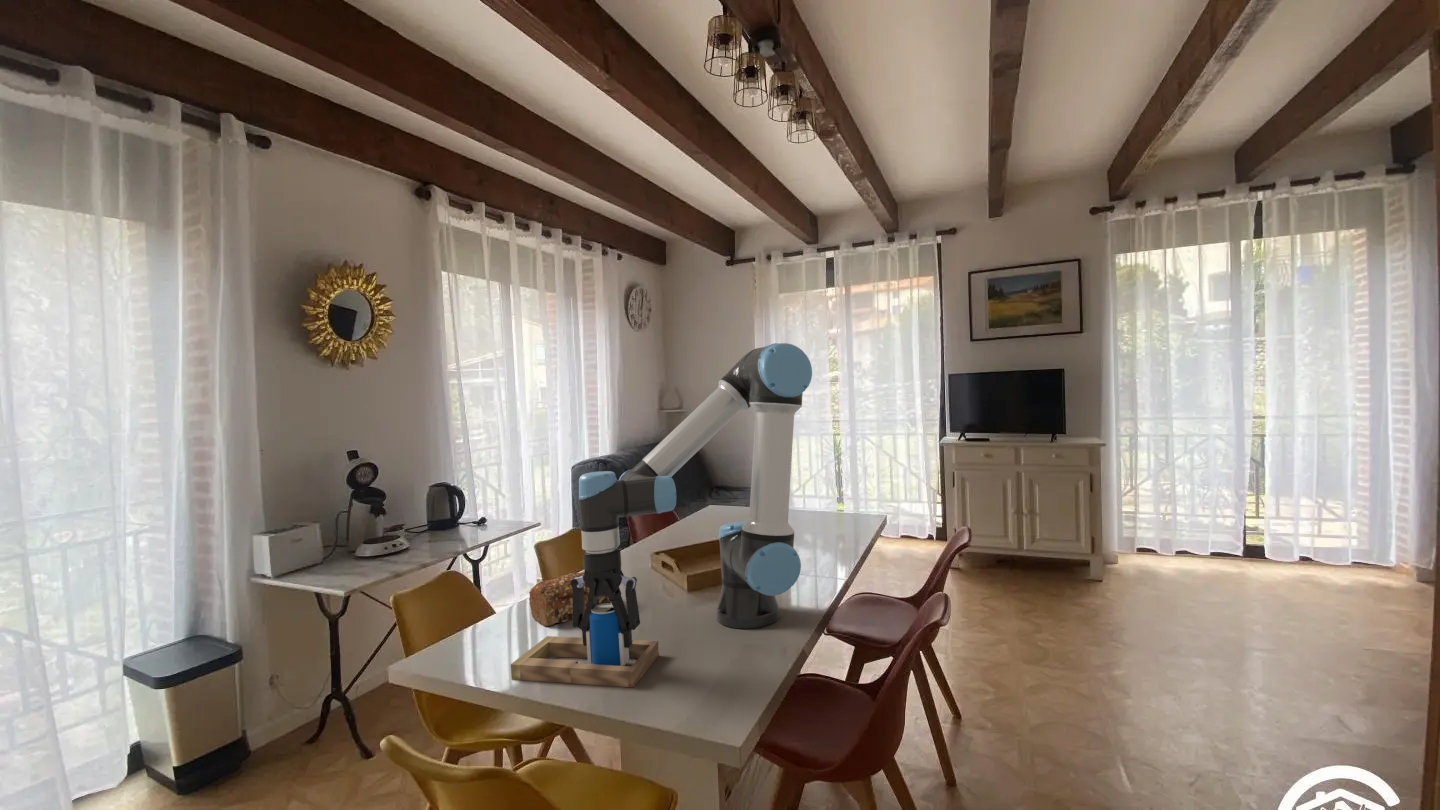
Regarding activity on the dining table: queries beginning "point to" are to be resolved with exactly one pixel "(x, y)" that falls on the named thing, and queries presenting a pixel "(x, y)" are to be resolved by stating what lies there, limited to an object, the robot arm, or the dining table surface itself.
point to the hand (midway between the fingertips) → (608, 661)
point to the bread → (557, 600)
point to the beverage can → (604, 635)
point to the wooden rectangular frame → (570, 671)
